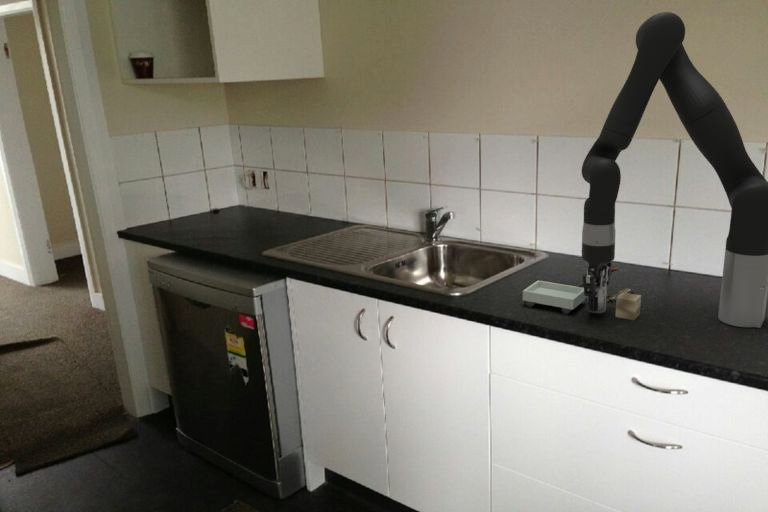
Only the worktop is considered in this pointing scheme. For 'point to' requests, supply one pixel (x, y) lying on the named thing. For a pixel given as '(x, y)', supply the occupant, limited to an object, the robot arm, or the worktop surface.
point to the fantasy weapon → (613, 297)
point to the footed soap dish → (554, 295)
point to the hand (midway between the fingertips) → (596, 307)
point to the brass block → (628, 306)
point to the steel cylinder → (600, 300)
